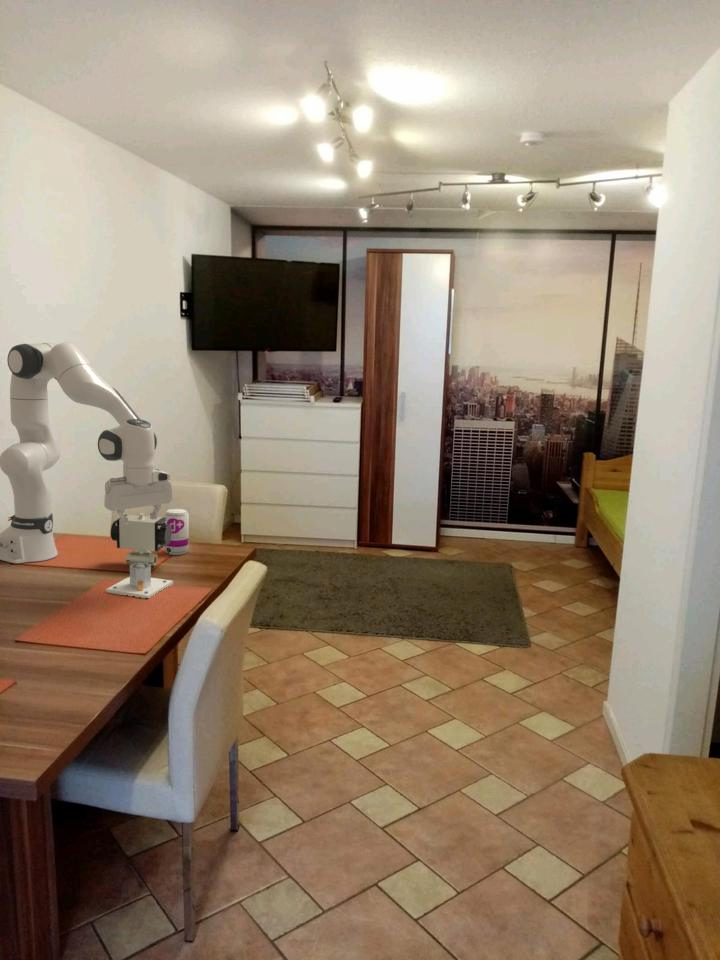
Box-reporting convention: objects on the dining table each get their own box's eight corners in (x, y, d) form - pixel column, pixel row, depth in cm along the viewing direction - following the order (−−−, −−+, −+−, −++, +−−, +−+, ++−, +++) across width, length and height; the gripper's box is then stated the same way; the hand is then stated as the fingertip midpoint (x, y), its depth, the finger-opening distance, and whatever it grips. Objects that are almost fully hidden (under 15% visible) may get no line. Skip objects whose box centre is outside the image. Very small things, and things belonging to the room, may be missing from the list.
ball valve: (173, 563, 244) (173, 511, 240) (164, 571, 235) (164, 518, 232) (121, 559, 245) (120, 507, 242) (110, 566, 237) (109, 514, 233)
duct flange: (106, 592, 215) (105, 569, 213) (132, 577, 228) (132, 556, 227) (148, 599, 211) (148, 576, 210) (173, 583, 225) (173, 562, 223)
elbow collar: (130, 582, 221) (130, 563, 220) (150, 581, 223) (150, 562, 222) (129, 591, 214) (129, 571, 213) (150, 590, 216) (150, 570, 214)
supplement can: (185, 556, 252) (185, 514, 249) (161, 555, 252) (161, 513, 249) (191, 549, 260) (191, 508, 257) (168, 548, 260) (168, 507, 257)
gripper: (110, 481, 203) (110, 528, 206) (175, 474, 218) (175, 518, 220) (100, 477, 208) (100, 523, 210) (164, 470, 222) (164, 514, 225)
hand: (139, 521), depth 216 cm, fingers open, 8 cm apart
